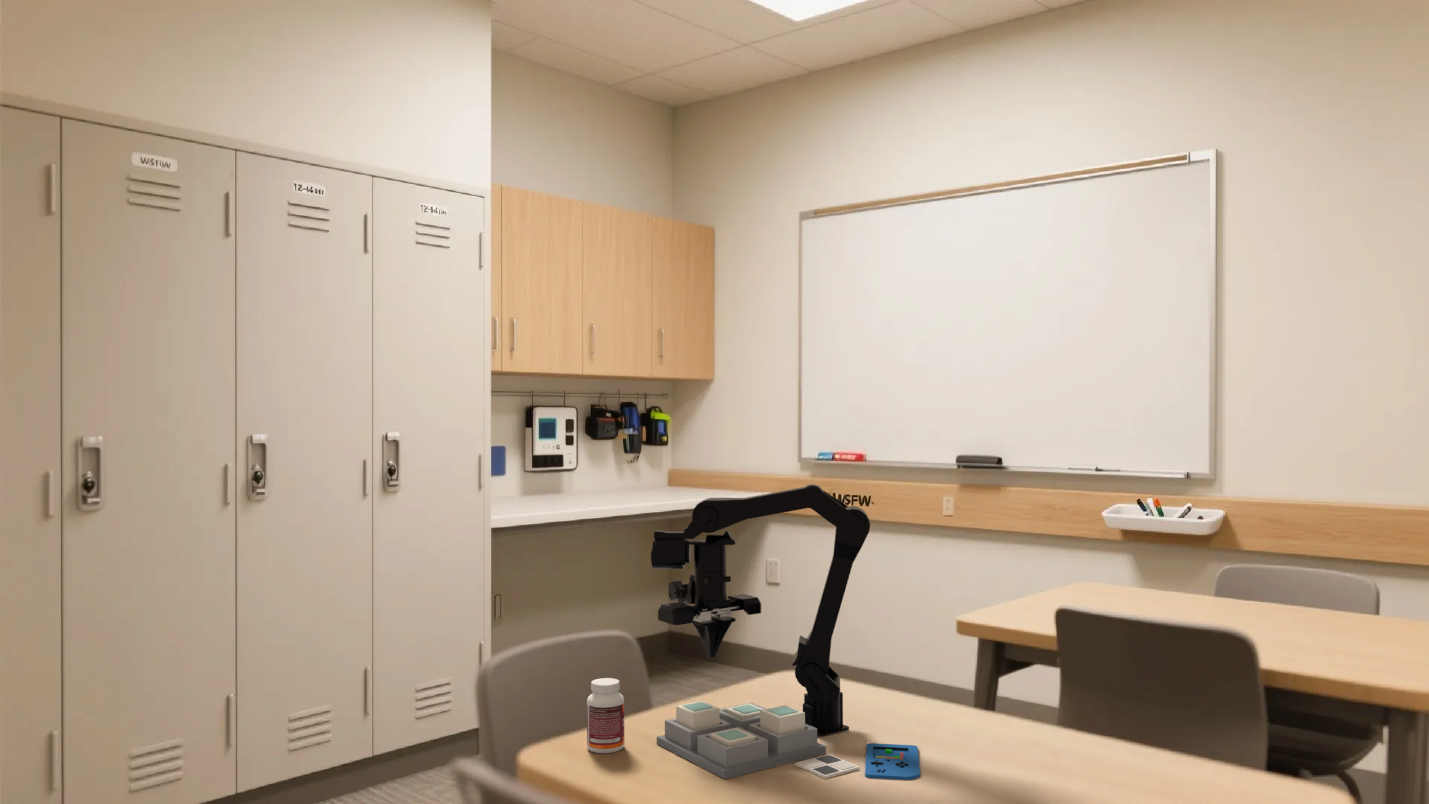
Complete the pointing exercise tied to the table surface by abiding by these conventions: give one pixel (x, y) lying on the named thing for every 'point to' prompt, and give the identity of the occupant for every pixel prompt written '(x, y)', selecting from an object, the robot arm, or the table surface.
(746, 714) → the button
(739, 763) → the console
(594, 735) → the pill bottle
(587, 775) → the table surface
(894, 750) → the handheld gaming device
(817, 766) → the card
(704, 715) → the button
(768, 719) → the button
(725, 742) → the button
